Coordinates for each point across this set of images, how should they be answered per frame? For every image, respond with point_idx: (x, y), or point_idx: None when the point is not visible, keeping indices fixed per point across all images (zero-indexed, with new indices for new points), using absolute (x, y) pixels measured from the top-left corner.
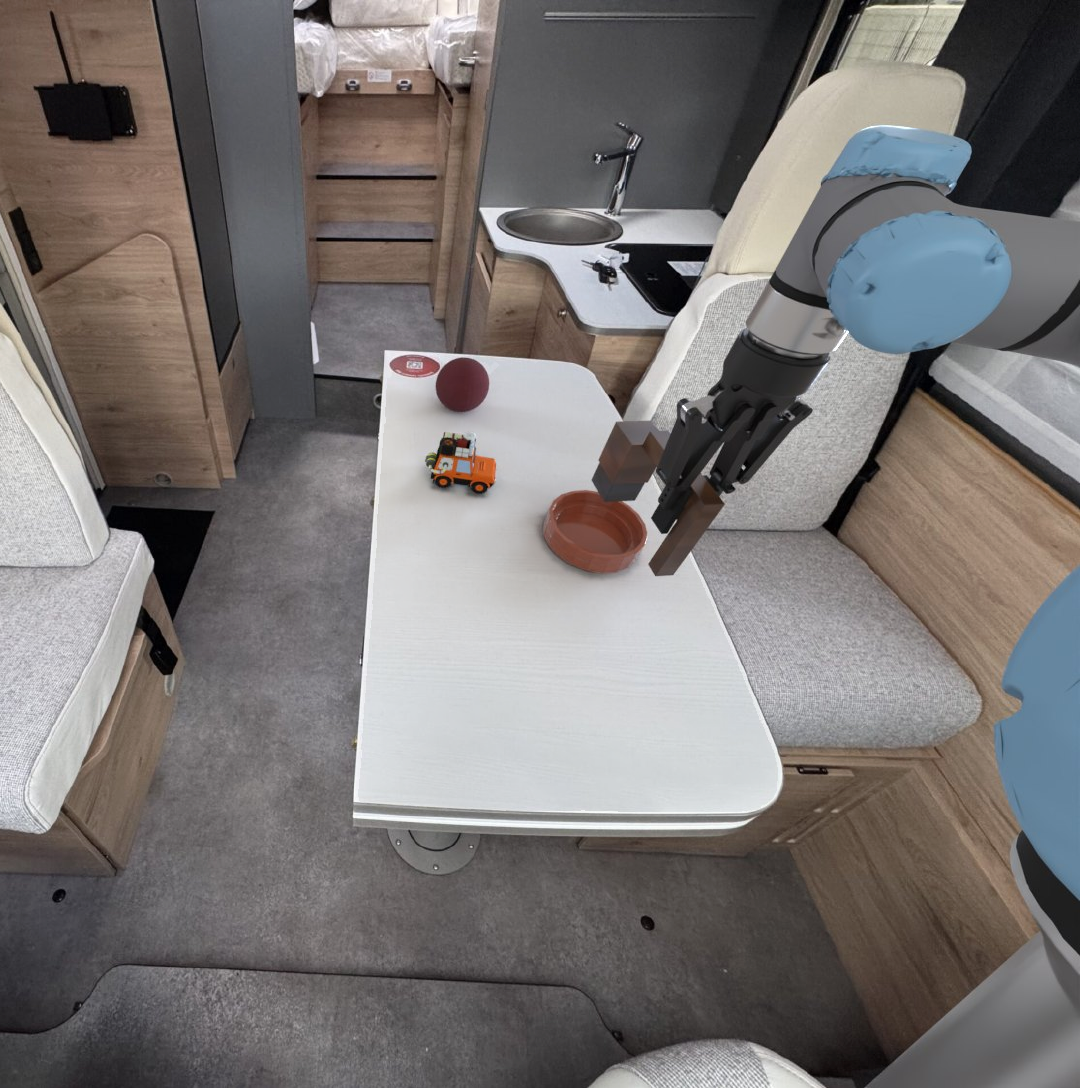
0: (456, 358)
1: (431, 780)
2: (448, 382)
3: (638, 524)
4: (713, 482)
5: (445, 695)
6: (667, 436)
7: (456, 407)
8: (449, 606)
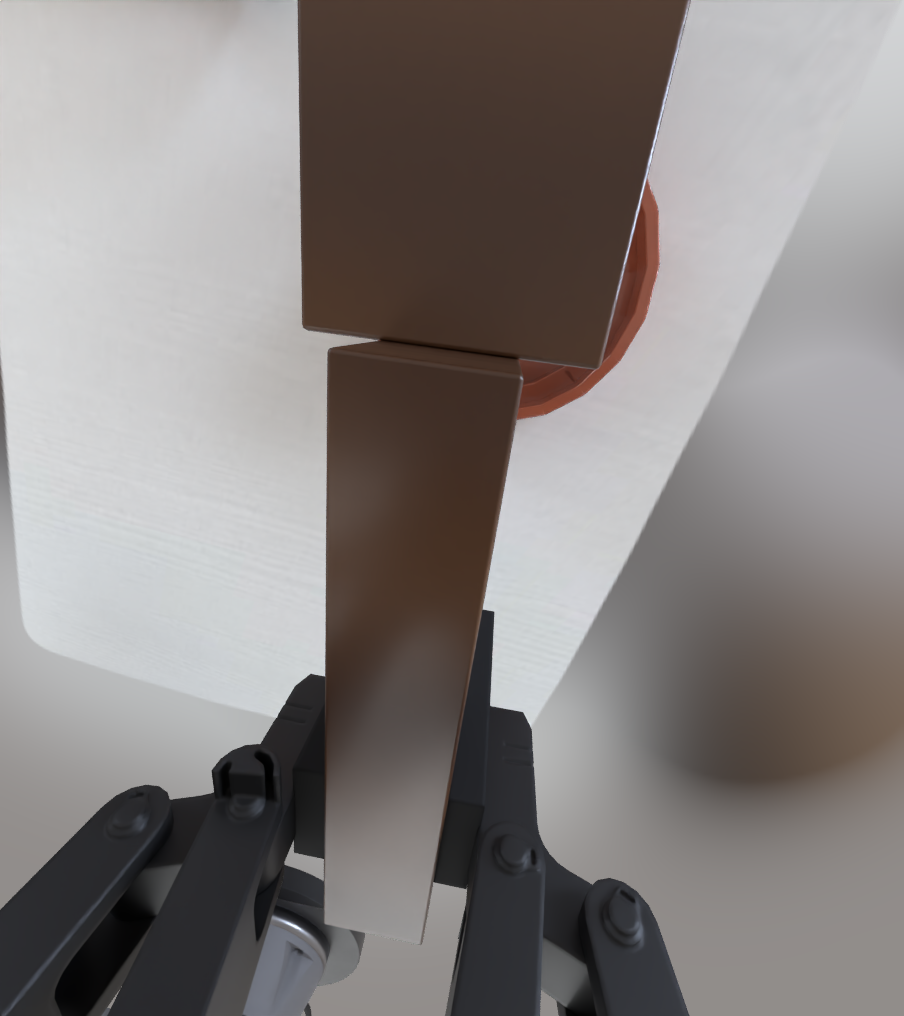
0: None
1: (95, 651)
2: None
3: (633, 302)
4: (471, 857)
5: (115, 563)
6: (451, 465)
7: None
8: (130, 408)
